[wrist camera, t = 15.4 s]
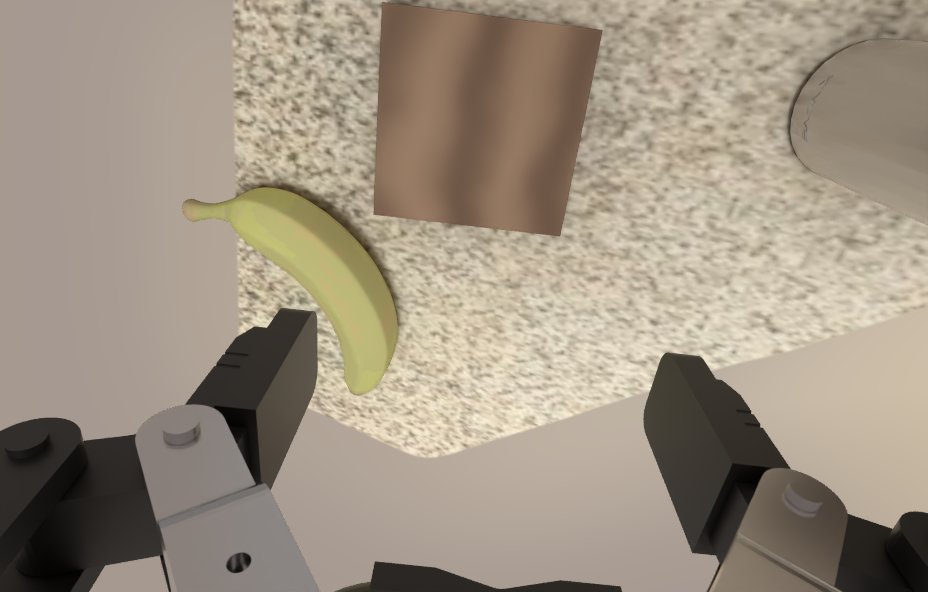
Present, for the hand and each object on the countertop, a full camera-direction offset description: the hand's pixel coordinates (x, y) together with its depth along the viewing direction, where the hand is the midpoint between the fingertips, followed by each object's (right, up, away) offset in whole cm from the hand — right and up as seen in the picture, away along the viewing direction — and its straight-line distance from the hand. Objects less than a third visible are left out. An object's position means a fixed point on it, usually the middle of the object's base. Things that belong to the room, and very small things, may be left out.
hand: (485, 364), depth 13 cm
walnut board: (+1, +14, +27) cm, 30 cm away
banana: (-6, -3, +33) cm, 33 cm away
